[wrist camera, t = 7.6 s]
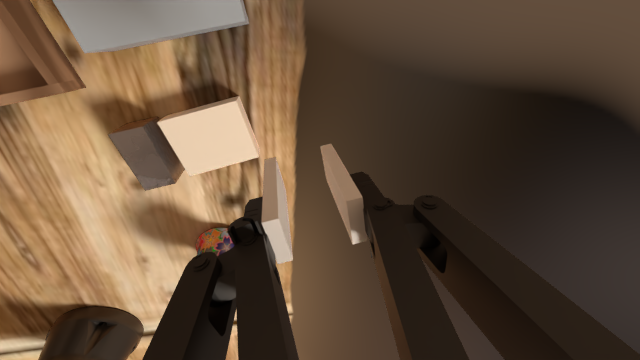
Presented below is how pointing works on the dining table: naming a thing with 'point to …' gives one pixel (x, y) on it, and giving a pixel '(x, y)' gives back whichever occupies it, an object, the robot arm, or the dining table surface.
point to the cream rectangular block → (211, 136)
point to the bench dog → (148, 153)
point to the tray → (30, 57)
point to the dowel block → (145, 20)
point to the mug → (214, 241)
